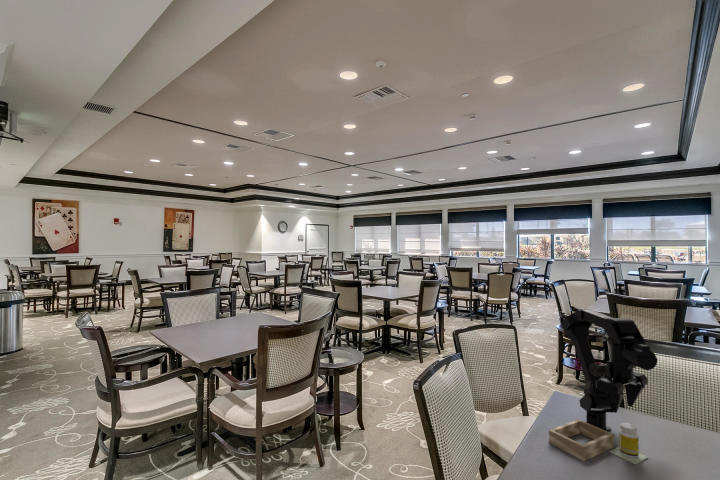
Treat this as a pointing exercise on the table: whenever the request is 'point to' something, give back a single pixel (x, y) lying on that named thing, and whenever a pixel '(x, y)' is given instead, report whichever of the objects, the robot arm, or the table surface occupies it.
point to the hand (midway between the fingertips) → (622, 409)
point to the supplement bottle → (628, 440)
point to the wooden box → (583, 452)
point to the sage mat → (632, 460)
